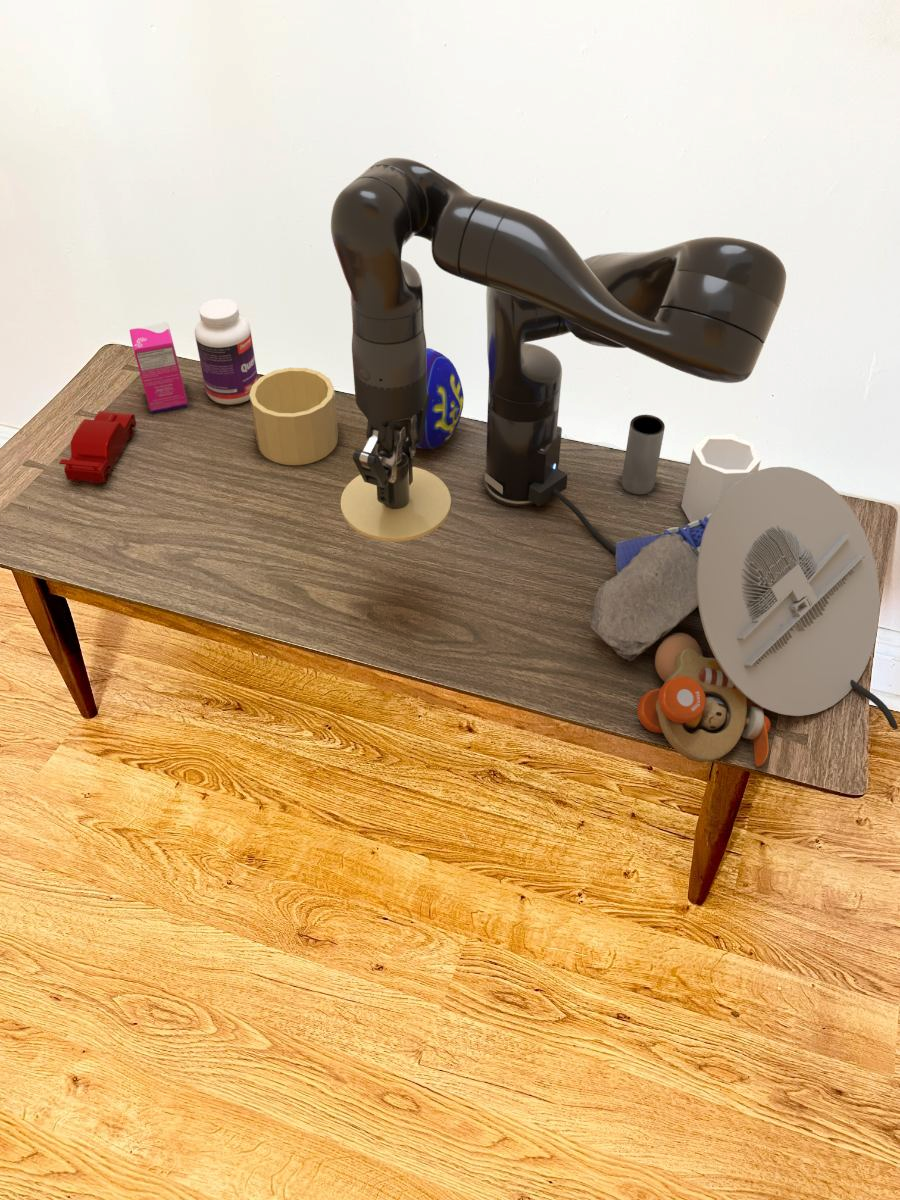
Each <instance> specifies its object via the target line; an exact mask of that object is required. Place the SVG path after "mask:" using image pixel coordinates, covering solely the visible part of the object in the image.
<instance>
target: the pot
mask: <svg viewBox="0 0 900 1200" xmlns="http://www.w3.org/2000/svg"><path fill="white" fill-rule="evenodd" d="M249 397H250V400H249V403H250V408H251V415H252V420H253V427H254V433H255V440H256V443H257V447H258V450H259V452H260V453H261V454H262V455H263V456H264V457H265V458H266V459H268V460H269V461H272V462H274V463H277V464H279V465H287V466H304V465H309V464H312V463H315V462H318V461H320V460H323V459H324V458H325V457H328V456H329V455H330V454H331V453H332V452H333V451H334V449H336V446H337V445H338V441H339V426H338V416H337V415H338V414H337V404H336V392H335V386H334V385H333V382H332V381H331V379H330V378H329V377H328V376H327V375H326V374H324V373H322V372H320V371H318V370H313V369H310V368H308V367H286V368H281V369H277V370H272V371H270V372H268V373H266V374H264V375H262V376H260V377H258V380H257V381H256V382H255V383H254V384H253V385H252V388H251V391H250V394H249Z"/></svg>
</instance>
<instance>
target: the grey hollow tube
mask: <svg viewBox="0 0 900 1200" xmlns="http://www.w3.org/2000/svg"><path fill="white" fill-rule="evenodd" d="M665 429H666V425H665V422H663V420H662V419H661V418H659V416H658V417H657V416H656V415H652V414H639V415H636V416H635V417H633V418H632V419H631V421H630V423H629V429H628V436H627V442H626V449H625V455H624V463H623V469H622V475H621V486H622V488H623V489H624V490H625V491H626V492H627V493H630V494H633V495H637V496H638V495H639V496H640V495H641V496H642V495H646V494H648V493H650V492H652V491H653V490H654V488H655V483H656V479H657V478H656V477H657V472H658V467H659V462H660V456H661V450H662V445H663V440H664V435H665V434H664V433H665Z"/></svg>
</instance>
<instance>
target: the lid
mask: <svg viewBox="0 0 900 1200" xmlns="http://www.w3.org/2000/svg"><path fill="white" fill-rule="evenodd" d="M392 454H393V452H392ZM382 465H383V467H384V469H386V470H388V468H389V467H388V465H387V464H385V463H382ZM412 468H413V482H412V483H411V485H410V486H409V459H408V456H407V455H406V454H405V453H404V452H402V460H401V461H400V462H399V463H398V464H397V476H396V478H397V496H398V501H397V503H396V504H395V506H389V505H386V504H383V503H380V502H378V499H377V486H376V485H373V484H370V483H366V482H364V480H363V478H362V476H361V474H360V473H359V475H357V476H356V477H354V478H353V479H351V481H350V482H349V483H347V485H346V486H345V488H344V489H343V492H342V494H341V496H340V511H341V515H342V518H343V519H344V521H345V522H346V524H347V525H348V526H349V527H350V528H351V529H352V530H354V531H355V532H357V533H358V534H360V535H362V536H364V537H367V538H369V539H373V540H376V541H381V542H390V543H392V542H395V543H396V542H397V543H398V542H399V543H400V542H407V541H408V542H409V541H412V540H416V539H419V538H422V537H425V536H427V535H429V534H431V533H433V532H434V531H435V530H438V528H439V527H440V526H442V525H443V524H444V522H445V521H446V520H447V518H448V517H449V514H450V512H451V508H452V496H451V493H450V490H449V488H448V486H447V485H446V484H445V483H444V481H442V479H441V478H440V477H438V476H437V475H435V474H434V473H432V472H431V471H428V470H426V469H423V468H420V467H417V466H412Z"/></svg>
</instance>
